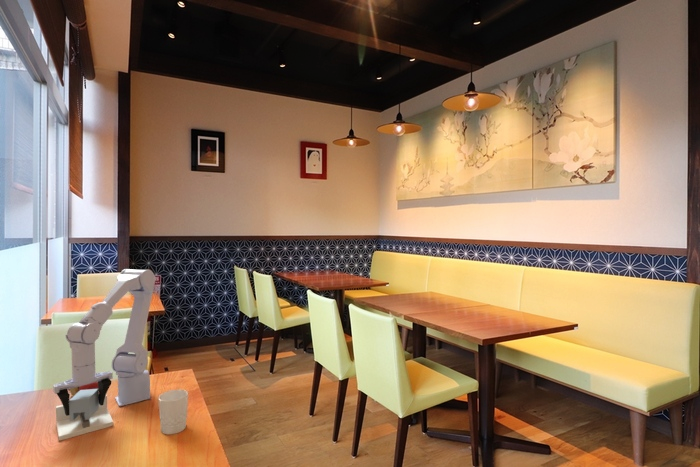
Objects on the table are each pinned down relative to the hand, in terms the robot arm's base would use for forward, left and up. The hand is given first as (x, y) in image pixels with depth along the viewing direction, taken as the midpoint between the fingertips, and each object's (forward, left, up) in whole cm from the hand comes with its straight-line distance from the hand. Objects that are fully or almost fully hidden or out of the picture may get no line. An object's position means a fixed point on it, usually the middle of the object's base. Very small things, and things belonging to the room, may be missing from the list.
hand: (84, 409), depth 118 cm
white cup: (-20, +18, -5) cm, 27 cm away
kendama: (-1, -28, -5) cm, 28 cm away
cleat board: (0, -1, -5) cm, 5 cm away
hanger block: (0, 0, -2) cm, 2 cm away
